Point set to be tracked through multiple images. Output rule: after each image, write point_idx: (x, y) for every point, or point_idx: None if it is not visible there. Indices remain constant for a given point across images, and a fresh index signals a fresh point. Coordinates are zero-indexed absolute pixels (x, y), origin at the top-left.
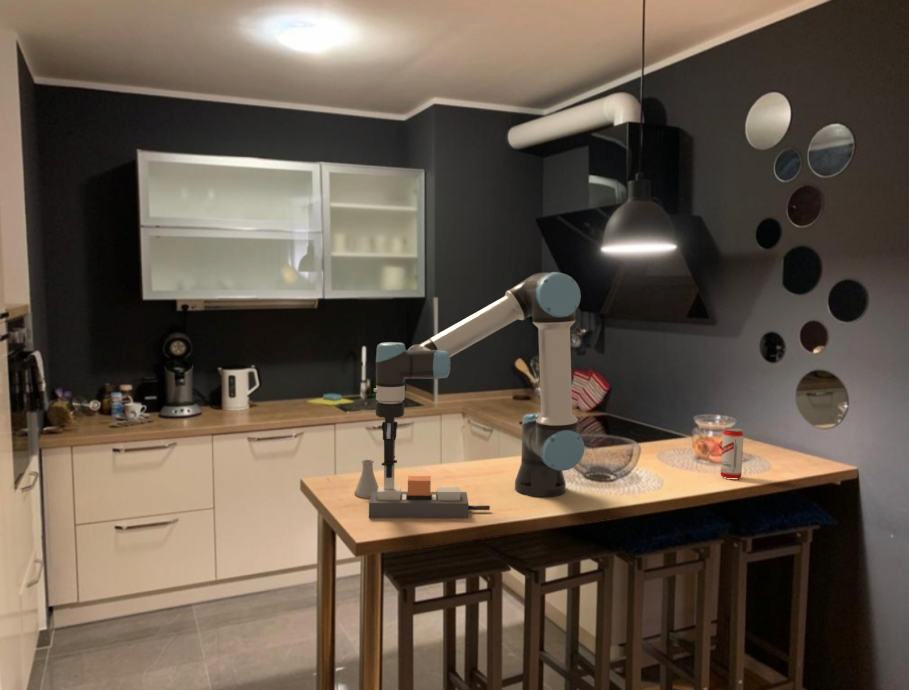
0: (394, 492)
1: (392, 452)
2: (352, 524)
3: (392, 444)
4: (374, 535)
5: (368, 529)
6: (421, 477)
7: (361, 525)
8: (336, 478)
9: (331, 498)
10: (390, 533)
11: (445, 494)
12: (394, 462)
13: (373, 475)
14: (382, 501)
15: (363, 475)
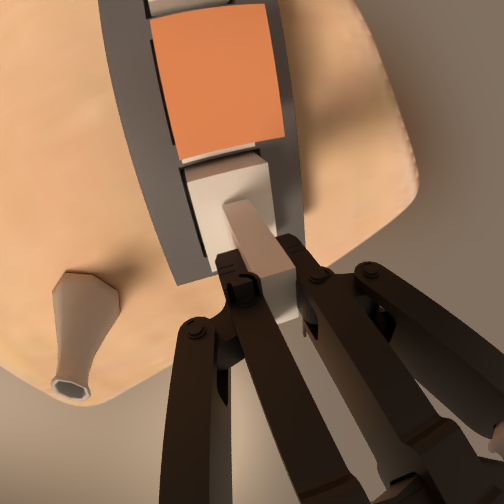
0: (270, 186)
1: (449, 318)
2: (333, 243)
3: (499, 356)
4: (395, 174)
5: (364, 197)
6: (196, 66)
7: (340, 222)
8: (40, 380)
9: (157, 353)
10: (387, 139)
11: None
12: (257, 287)
13: (67, 334)
14: (286, 212)
15: (94, 355)
